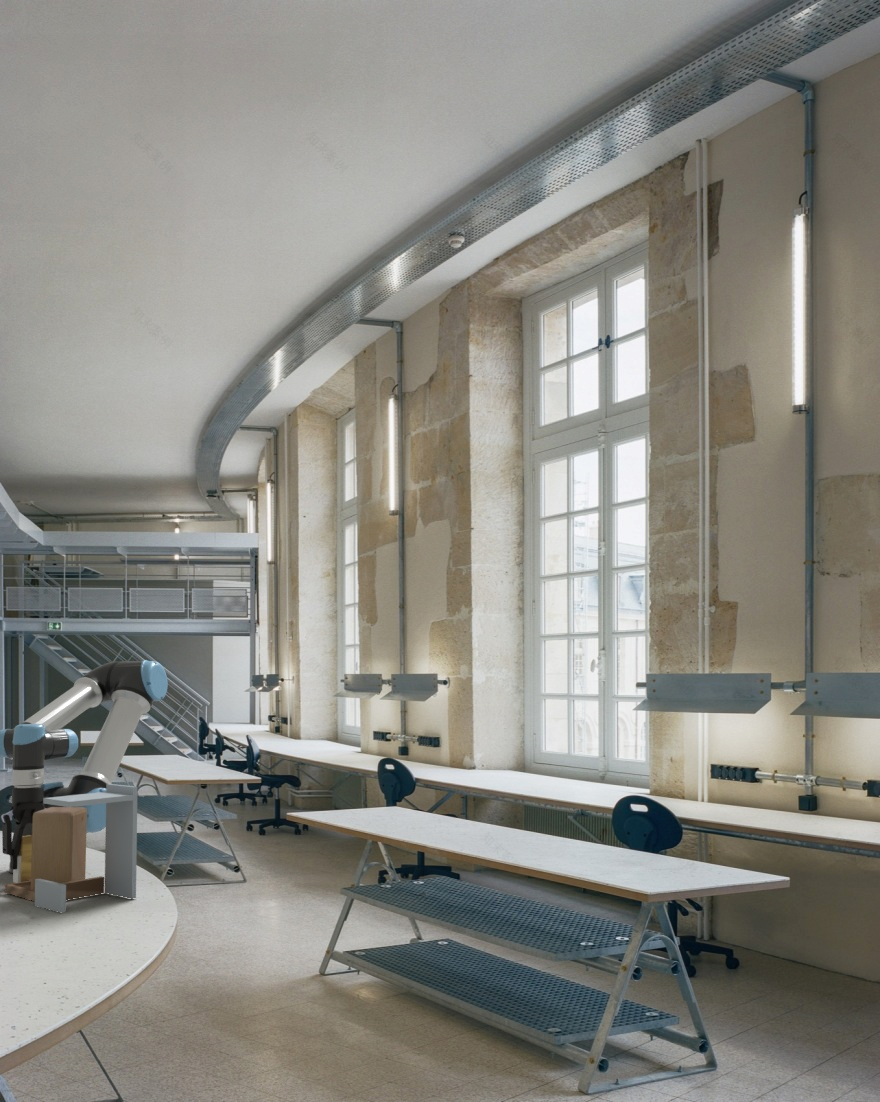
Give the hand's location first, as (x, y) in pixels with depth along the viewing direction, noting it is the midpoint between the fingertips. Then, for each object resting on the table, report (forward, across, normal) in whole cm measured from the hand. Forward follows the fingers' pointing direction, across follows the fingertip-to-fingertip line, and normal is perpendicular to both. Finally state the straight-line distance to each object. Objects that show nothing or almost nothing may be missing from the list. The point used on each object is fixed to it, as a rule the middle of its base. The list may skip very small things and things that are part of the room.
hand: (25, 880), depth 276 cm
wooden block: (+1, 0, -16) cm, 16 cm away
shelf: (+2, 0, -29) cm, 29 cm away
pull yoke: (+1, 0, -11) cm, 11 cm away
